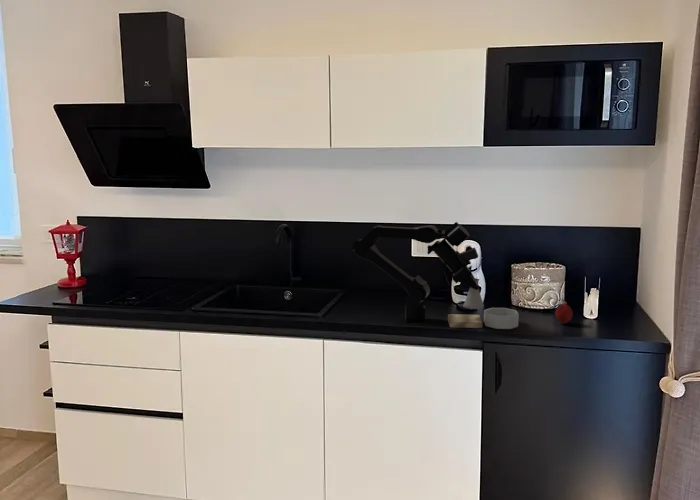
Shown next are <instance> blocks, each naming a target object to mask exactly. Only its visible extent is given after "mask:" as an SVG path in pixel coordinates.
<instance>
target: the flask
mask: <svg viewBox="0 0 700 500" xmlns="http://www.w3.org/2000/svg"><path fill="white" fill-rule="evenodd" d="M473 279H474V281H475V282H476V284H477V285H479V281H480V279H479V278H476V277H474V278H473ZM484 306H485V305H484V302H483V298H482V296H481V293H480V288H479V289H478V290H476V289H473V288H471V287H469V289H468V293H467V296H466V298H465V301H464V303H463V306H462V307H463V308H466V309H470V310H480V309H483V308H484Z"/></svg>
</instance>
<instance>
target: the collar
mask: <svg viewBox="0 0 700 500" xmlns="http://www.w3.org/2000/svg"><path fill="white" fill-rule="evenodd" d="M519 317H520V316H519V312H518V311H517V310H516V309H512V308H508V307H507V308H506V307H491V308H490V307H489V308H487V309H484V310H483V323H484V326H485V327H489V328H493V329H496V330H501V329H502V330H511V329H515V328H518V327H519Z"/></svg>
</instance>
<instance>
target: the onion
mask: <svg viewBox="0 0 700 500" xmlns="http://www.w3.org/2000/svg"><path fill="white" fill-rule="evenodd" d="M573 312H574V311H573V310H572V308H571V306H569V305H568V303H567V301H564V302H562V303H561V304H559V306H558V307H557V308H556V309H555V311H554V315H555V319H556V320H557V321H559V322H560V323H561V325H562V324H563V325H565V324H567V323H568V322H570V321H571V320H572V318H573V316H574V313H573Z"/></svg>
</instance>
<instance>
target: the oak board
mask: <svg viewBox="0 0 700 500" xmlns="http://www.w3.org/2000/svg"><path fill="white" fill-rule="evenodd" d="M447 321H448V325H449V327H450V328H459V329H460V328H463V329H465V328H467V329H470V328H472V329H483V323H484V321H483V320H482V318H481V317H480V314H457V313H456V314H454V313H451V314H447Z"/></svg>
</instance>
